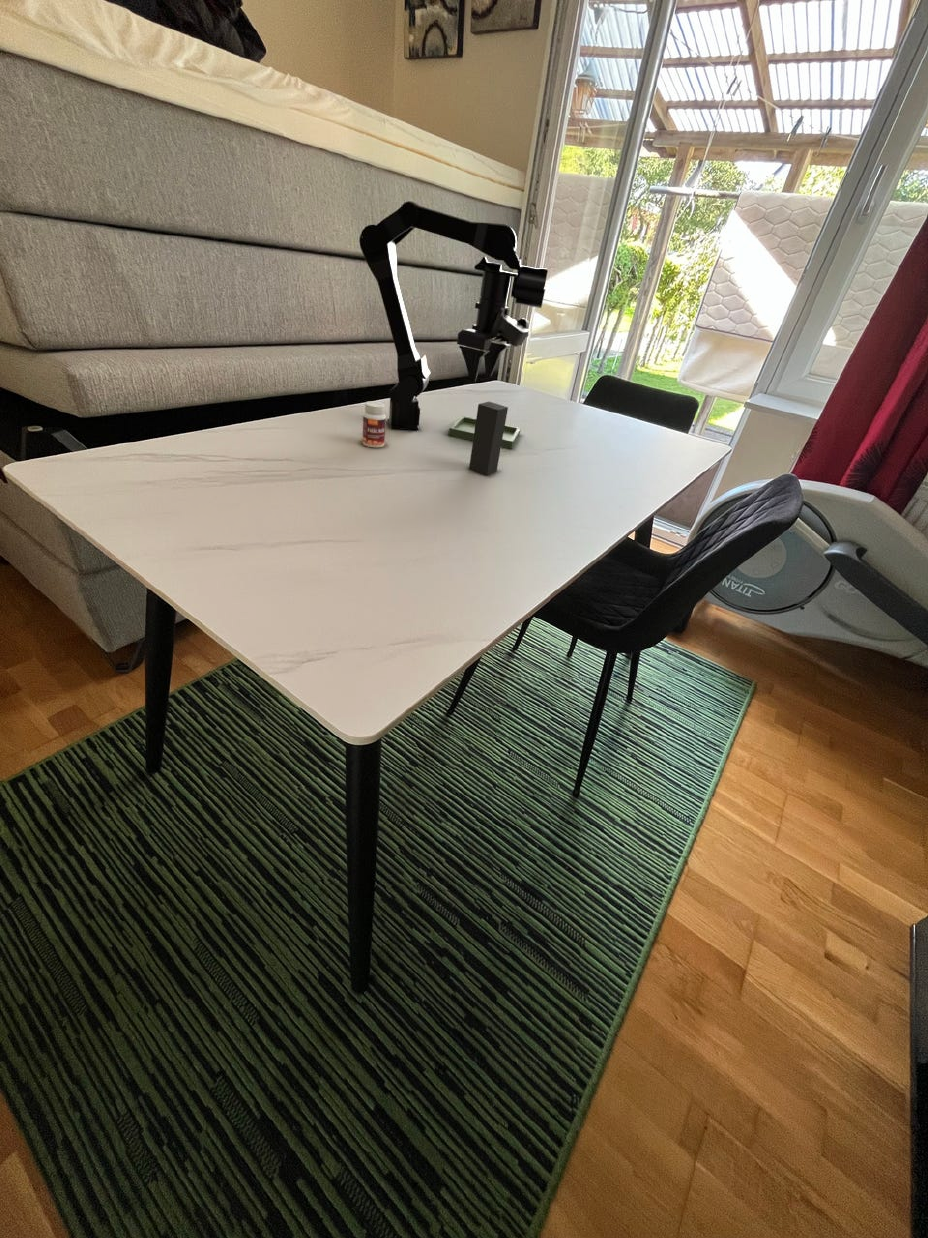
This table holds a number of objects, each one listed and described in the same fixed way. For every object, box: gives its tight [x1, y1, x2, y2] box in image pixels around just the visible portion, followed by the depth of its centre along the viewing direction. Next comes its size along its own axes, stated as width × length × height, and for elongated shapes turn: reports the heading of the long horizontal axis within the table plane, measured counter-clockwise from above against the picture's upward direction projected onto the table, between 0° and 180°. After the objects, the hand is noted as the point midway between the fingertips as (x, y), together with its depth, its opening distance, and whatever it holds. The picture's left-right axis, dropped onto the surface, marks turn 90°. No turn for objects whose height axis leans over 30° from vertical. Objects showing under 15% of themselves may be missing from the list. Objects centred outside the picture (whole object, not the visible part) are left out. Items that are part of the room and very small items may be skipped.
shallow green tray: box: [448, 415, 522, 450], centre depth 127 cm, size 16×13×2 cm
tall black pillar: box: [468, 401, 509, 476], centre depth 104 cm, size 4×4×13 cm
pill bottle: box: [362, 400, 387, 449], centre depth 109 cm, size 5×5×8 cm
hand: (480, 379), depth 117 cm, fingers open, 9 cm apart
